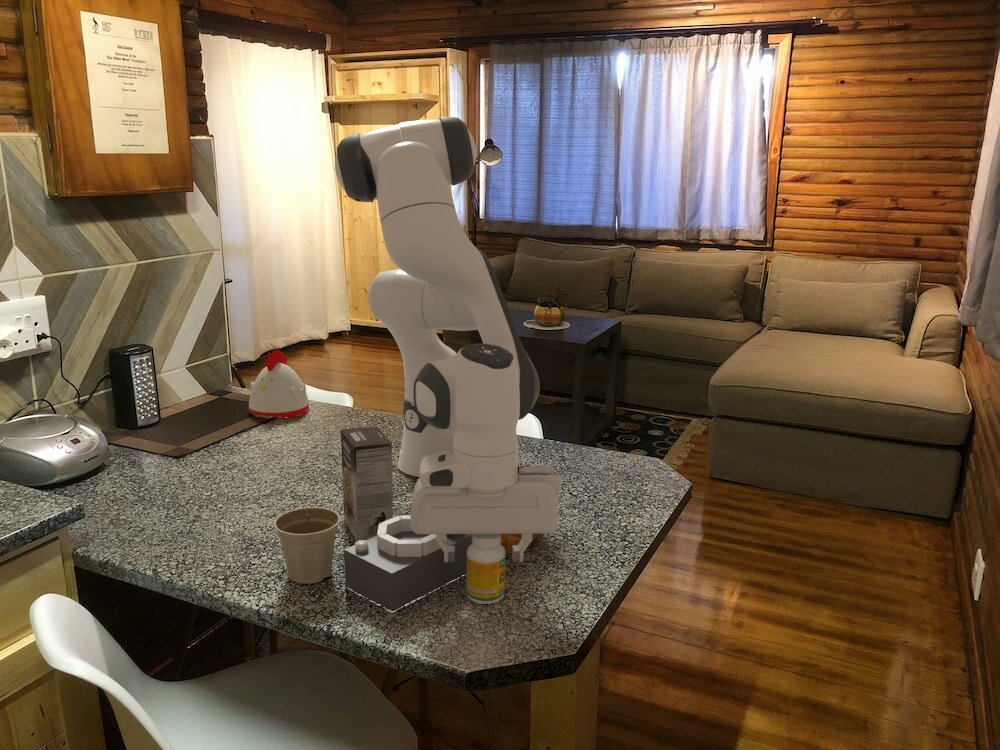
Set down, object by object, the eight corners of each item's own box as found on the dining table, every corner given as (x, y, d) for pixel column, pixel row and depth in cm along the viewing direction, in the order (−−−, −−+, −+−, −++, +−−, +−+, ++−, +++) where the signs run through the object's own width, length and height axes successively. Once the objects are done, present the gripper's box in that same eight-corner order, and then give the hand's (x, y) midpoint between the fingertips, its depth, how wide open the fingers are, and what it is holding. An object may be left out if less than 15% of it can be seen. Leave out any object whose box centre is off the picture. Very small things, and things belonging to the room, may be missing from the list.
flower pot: (267, 569, 120) (263, 515, 118) (326, 553, 125) (324, 501, 123) (291, 597, 113) (287, 540, 110) (353, 578, 118) (351, 524, 116)
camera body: (426, 549, 127) (426, 502, 125) (473, 571, 121) (474, 521, 119) (345, 587, 115) (343, 536, 113) (392, 613, 109) (391, 559, 107)
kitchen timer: (237, 415, 191) (233, 353, 187) (270, 399, 204) (267, 341, 200) (288, 422, 187) (285, 359, 183) (319, 406, 200) (317, 346, 196)
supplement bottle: (466, 586, 117) (467, 524, 114) (503, 586, 117) (505, 524, 114) (466, 606, 111) (466, 542, 109) (505, 606, 112) (506, 542, 109)
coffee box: (342, 519, 137) (339, 428, 133) (379, 513, 140) (377, 424, 136) (355, 542, 129) (352, 446, 125) (394, 535, 132) (392, 441, 128)
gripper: (559, 458, 113) (555, 549, 116) (411, 458, 111) (411, 550, 115) (565, 474, 107) (561, 570, 110) (408, 475, 105) (409, 571, 109)
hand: (483, 560), depth 112 cm, fingers open, 8 cm apart
